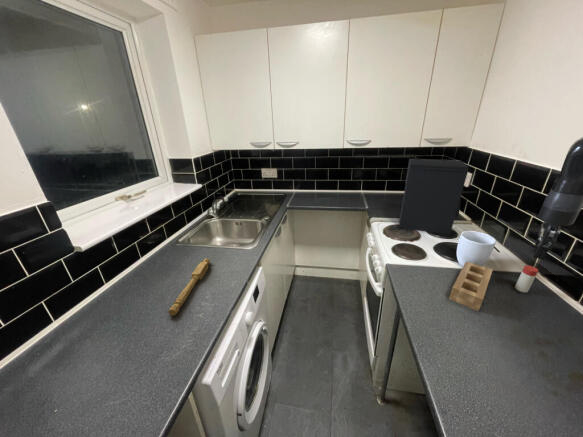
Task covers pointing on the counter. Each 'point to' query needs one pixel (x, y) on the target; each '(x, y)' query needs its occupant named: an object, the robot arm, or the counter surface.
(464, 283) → the holder
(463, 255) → the mug
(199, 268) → the tap handle
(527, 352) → the counter surface
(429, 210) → the tall black box
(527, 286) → the red capped shaker
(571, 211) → the robot arm
